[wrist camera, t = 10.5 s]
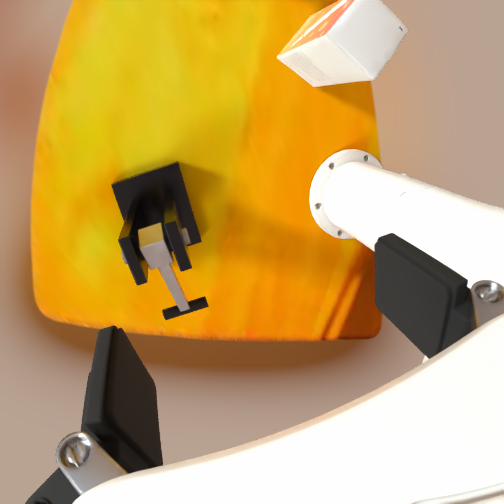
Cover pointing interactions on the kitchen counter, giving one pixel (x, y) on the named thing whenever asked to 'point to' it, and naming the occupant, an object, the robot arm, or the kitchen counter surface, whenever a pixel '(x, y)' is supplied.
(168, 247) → the lever
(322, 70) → the small box
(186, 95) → the kitchen counter surface
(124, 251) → the bracket
